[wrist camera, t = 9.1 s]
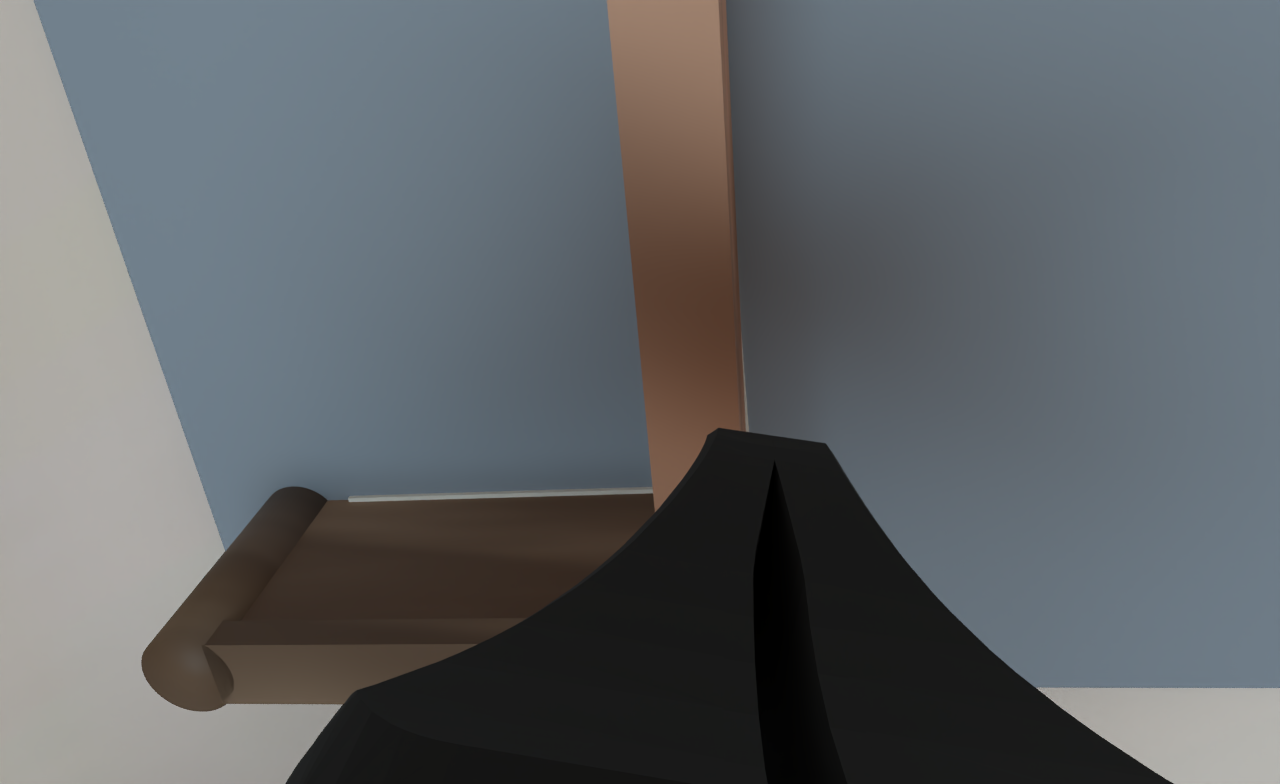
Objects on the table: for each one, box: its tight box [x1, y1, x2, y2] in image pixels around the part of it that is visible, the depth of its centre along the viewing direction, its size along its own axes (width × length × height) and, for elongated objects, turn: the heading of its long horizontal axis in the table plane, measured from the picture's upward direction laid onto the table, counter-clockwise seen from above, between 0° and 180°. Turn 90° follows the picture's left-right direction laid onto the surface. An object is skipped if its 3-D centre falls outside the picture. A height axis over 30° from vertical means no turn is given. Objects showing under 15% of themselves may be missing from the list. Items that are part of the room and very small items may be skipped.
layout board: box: [34, 0, 1280, 688], centre depth 20 cm, size 20×26×1 cm
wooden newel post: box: [607, 0, 746, 512], centre depth 17 cm, size 12×2×5 cm, turn 5°
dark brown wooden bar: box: [142, 486, 655, 711], centre depth 21 cm, size 2×12×5 cm, turn 97°
